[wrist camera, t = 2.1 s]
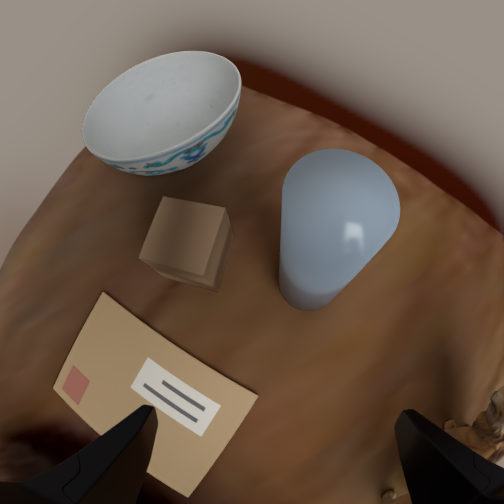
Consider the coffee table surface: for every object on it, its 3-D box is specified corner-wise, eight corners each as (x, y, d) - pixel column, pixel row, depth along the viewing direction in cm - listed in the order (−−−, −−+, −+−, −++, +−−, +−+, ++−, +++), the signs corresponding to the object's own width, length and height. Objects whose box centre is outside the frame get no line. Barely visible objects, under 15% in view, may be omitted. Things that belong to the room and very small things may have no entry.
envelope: (258, 395, 20) (258, 396, 20) (189, 496, 17) (188, 498, 17) (104, 292, 24) (102, 291, 24) (54, 388, 21) (52, 388, 20)
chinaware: (196, 233, 25) (168, 185, 18) (92, 180, 29) (56, 139, 21) (273, 120, 29) (271, 63, 22) (168, 93, 33) (151, 47, 25)
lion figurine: (458, 375, 19) (526, 374, 10) (489, 396, 17) (554, 398, 9) (364, 513, 15) (397, 566, 7) (403, 525, 14) (442, 569, 5)
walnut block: (234, 236, 25) (225, 207, 20) (217, 292, 23) (203, 275, 19) (181, 224, 26) (163, 196, 21) (162, 276, 24) (138, 257, 19)
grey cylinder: (347, 269, 23) (411, 180, 11) (321, 321, 22) (377, 277, 10) (295, 242, 24) (312, 133, 12) (267, 293, 23) (259, 218, 11)
